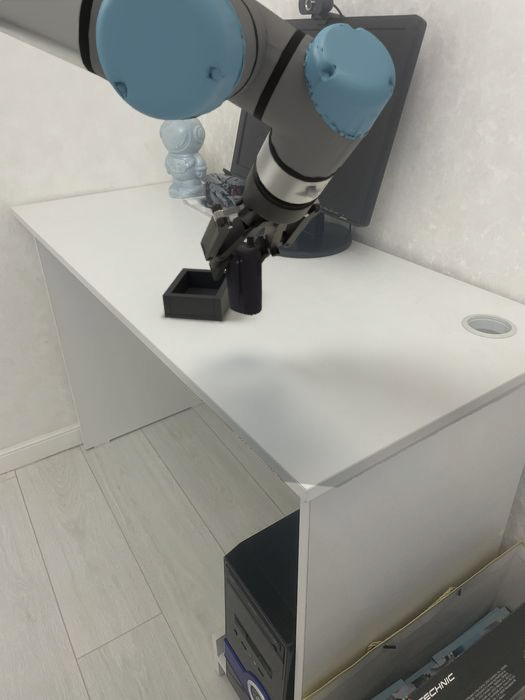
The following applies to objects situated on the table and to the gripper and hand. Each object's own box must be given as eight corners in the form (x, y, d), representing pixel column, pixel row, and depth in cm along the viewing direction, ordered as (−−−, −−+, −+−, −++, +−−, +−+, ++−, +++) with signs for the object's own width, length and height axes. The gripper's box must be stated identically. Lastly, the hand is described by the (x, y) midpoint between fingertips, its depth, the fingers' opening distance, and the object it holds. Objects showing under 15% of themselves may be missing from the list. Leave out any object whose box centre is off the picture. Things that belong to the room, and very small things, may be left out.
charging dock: (164, 317, 92) (162, 295, 90) (184, 288, 102) (182, 267, 100) (221, 321, 91) (220, 299, 88) (236, 291, 101) (235, 270, 99)
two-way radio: (267, 311, 74) (266, 207, 66) (248, 323, 71) (245, 216, 63) (237, 301, 77) (232, 200, 69) (218, 312, 74) (211, 209, 66)
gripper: (218, 219, 49) (179, 304, 71) (373, 196, 56) (295, 281, 77) (196, 150, 51) (164, 254, 72) (350, 136, 57) (279, 235, 78)
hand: (232, 268), depth 74 cm, fingers closed on two-way radio, 5 cm apart
